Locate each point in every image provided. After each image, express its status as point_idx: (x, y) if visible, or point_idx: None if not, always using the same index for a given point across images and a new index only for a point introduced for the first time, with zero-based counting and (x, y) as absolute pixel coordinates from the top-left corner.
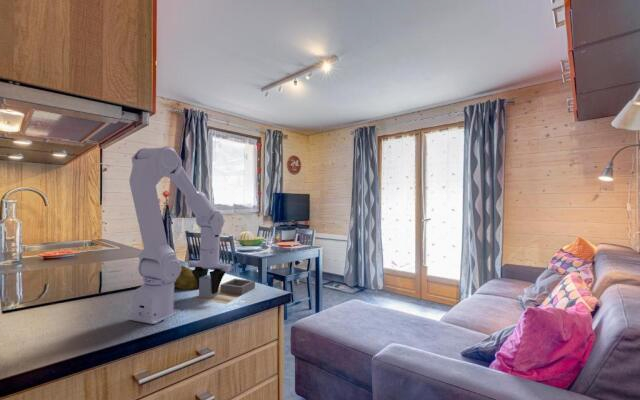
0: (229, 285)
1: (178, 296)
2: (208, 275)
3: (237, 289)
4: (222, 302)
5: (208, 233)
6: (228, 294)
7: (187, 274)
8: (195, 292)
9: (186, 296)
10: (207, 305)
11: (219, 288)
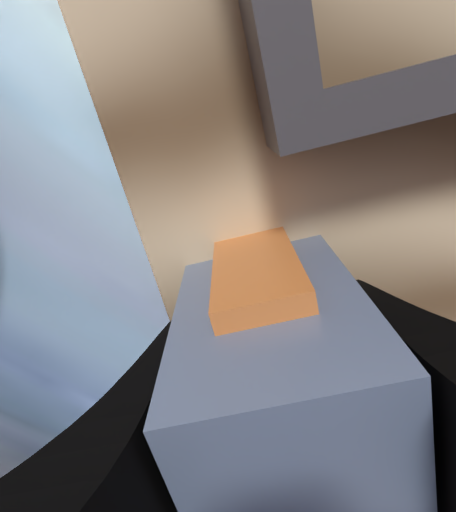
0: (446, 100)
1: (23, 404)
2: (201, 448)
3: None
4: None
5: None
6: (415, 150)
7: None
8: (7, 257)
9: (71, 372)
10: None
11: (120, 18)
